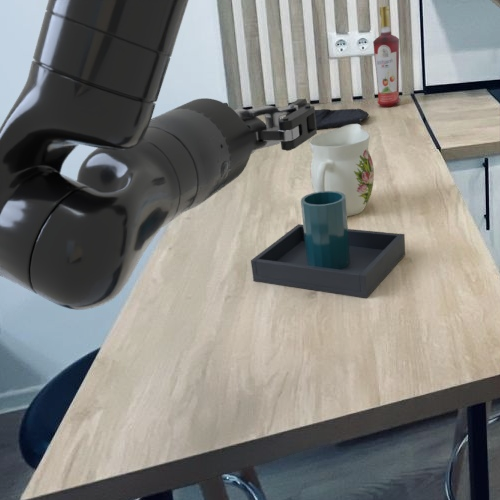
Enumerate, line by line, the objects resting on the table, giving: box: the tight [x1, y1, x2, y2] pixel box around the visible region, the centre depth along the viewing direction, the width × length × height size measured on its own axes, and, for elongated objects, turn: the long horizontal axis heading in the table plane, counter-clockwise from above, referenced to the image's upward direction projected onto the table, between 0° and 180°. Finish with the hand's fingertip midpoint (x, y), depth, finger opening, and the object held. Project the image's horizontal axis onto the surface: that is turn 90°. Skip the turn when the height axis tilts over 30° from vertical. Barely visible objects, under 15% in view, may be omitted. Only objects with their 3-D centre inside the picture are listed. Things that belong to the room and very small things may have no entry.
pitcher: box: [309, 123, 375, 217], centre depth 114 cm, size 11×18×14 cm, turn 151°
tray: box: [250, 223, 406, 299], centre depth 96 cm, size 18×15×3 cm
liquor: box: [372, 5, 401, 108], centre depth 192 cm, size 7×7×28 cm
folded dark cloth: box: [315, 108, 370, 130], centre depth 184 cm, size 15×22×5 cm
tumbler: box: [300, 191, 350, 270], centre depth 94 cm, size 6×6×10 cm
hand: (264, 111), depth 66 cm, fingers open, 8 cm apart
